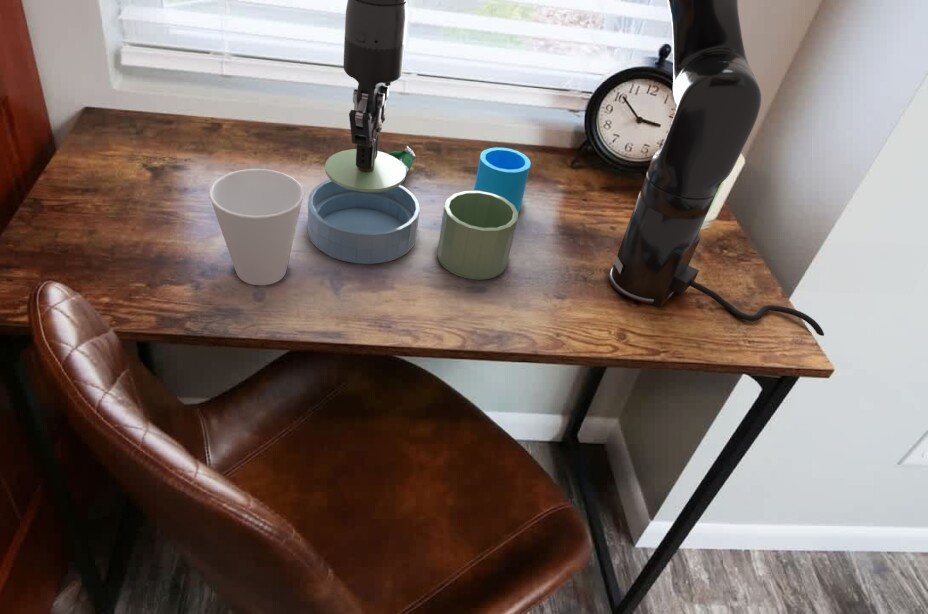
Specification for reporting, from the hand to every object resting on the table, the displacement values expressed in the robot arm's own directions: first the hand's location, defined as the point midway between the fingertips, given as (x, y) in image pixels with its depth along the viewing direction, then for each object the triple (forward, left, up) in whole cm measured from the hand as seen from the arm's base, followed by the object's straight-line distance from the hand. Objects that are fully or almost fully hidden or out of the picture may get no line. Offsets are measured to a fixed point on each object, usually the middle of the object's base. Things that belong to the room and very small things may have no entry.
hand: (366, 161), depth 98 cm
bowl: (0, 0, -12) cm, 12 cm away
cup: (+3, +17, -12) cm, 21 cm away
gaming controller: (+9, -17, -12) cm, 23 cm away
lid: (0, 0, -1) cm, 1 cm away
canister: (-15, -8, -12) cm, 21 cm away
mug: (-7, -25, -12) cm, 29 cm away
